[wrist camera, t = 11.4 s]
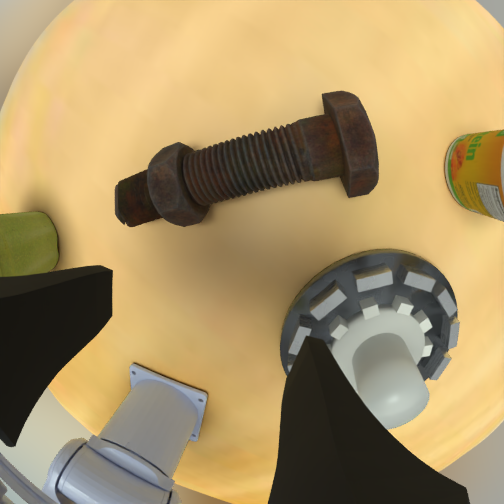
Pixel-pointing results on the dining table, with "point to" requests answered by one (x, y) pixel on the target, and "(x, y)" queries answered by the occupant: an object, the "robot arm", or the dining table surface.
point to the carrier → (384, 291)
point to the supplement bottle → (478, 172)
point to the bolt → (254, 165)
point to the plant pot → (27, 244)
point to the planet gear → (384, 357)
